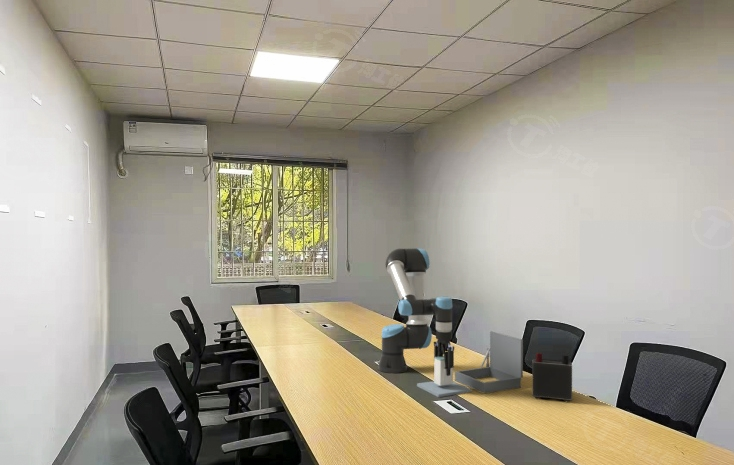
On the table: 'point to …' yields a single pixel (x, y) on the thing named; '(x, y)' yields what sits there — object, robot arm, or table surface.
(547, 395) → the voltmeter
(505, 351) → the case
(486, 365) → the tow hook
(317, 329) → the table surface
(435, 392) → the pad
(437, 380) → the block
